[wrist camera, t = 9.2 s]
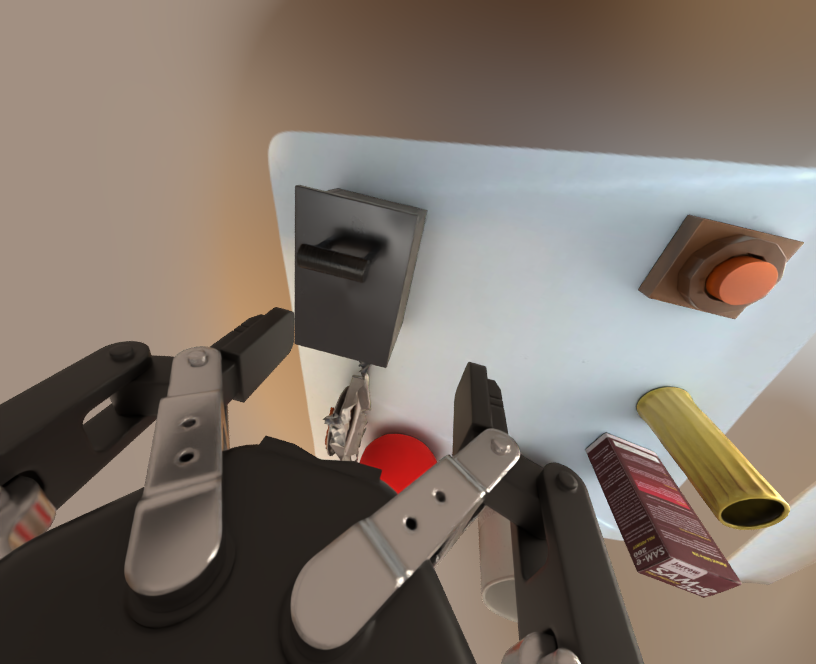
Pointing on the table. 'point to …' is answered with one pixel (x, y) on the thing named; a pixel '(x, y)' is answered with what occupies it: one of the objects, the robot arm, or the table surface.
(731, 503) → the vase
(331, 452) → the meal
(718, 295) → the button
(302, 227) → the black box lid
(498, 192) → the table surface
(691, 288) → the control block
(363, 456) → the tomato
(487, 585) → the planter
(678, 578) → the supplement box
